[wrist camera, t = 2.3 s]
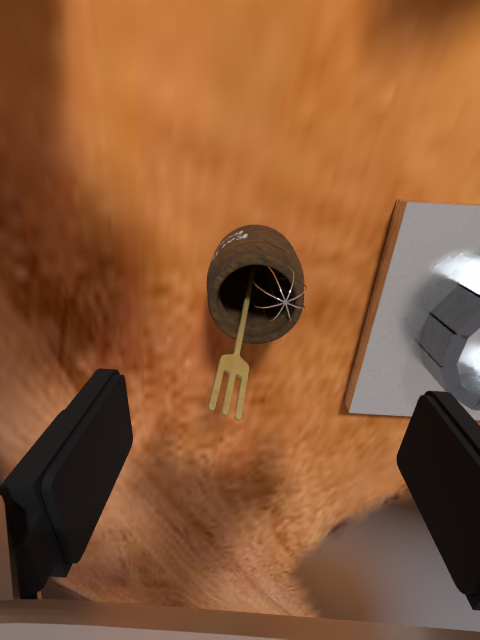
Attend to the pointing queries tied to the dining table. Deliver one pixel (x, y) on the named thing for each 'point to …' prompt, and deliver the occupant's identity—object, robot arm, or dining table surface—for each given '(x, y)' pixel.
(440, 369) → the collar stand
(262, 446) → the dining table surface
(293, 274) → the utensil holder
